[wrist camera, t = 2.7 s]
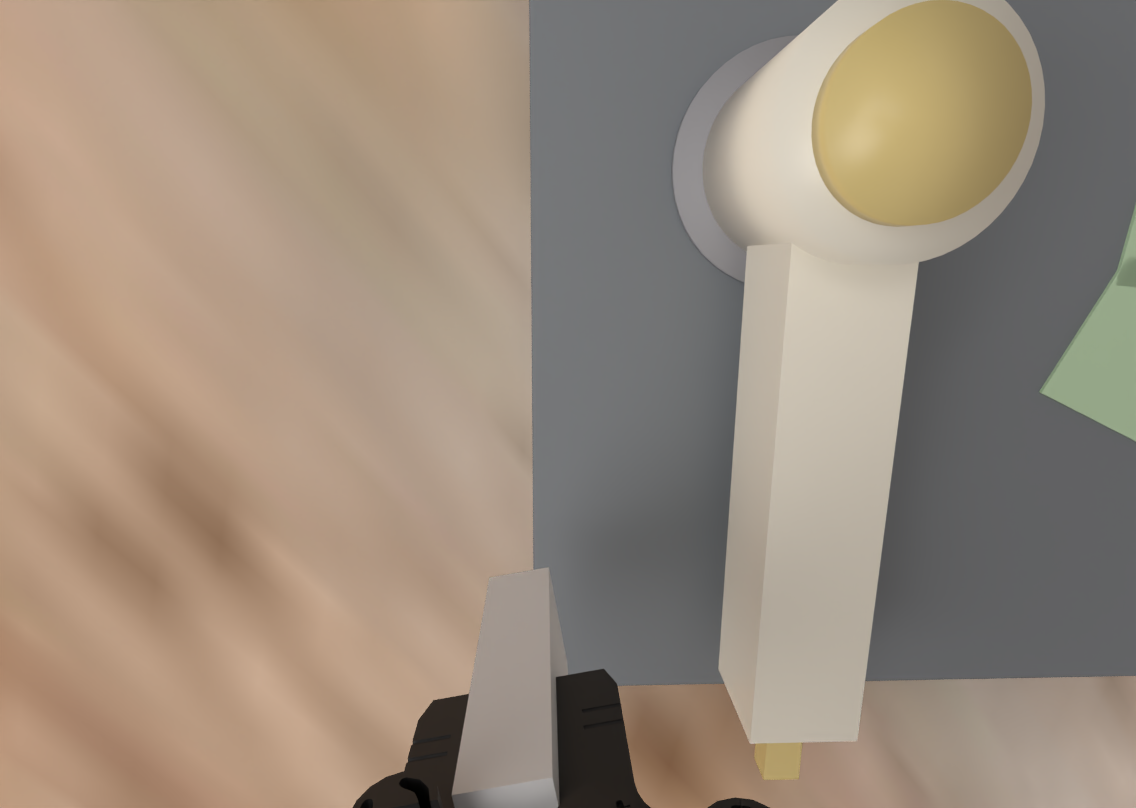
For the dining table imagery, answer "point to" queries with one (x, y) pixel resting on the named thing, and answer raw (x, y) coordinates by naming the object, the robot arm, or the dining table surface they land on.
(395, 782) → the robot arm
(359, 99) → the dining table surface
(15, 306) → the dining table surface
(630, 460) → the board
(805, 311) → the peg lever
